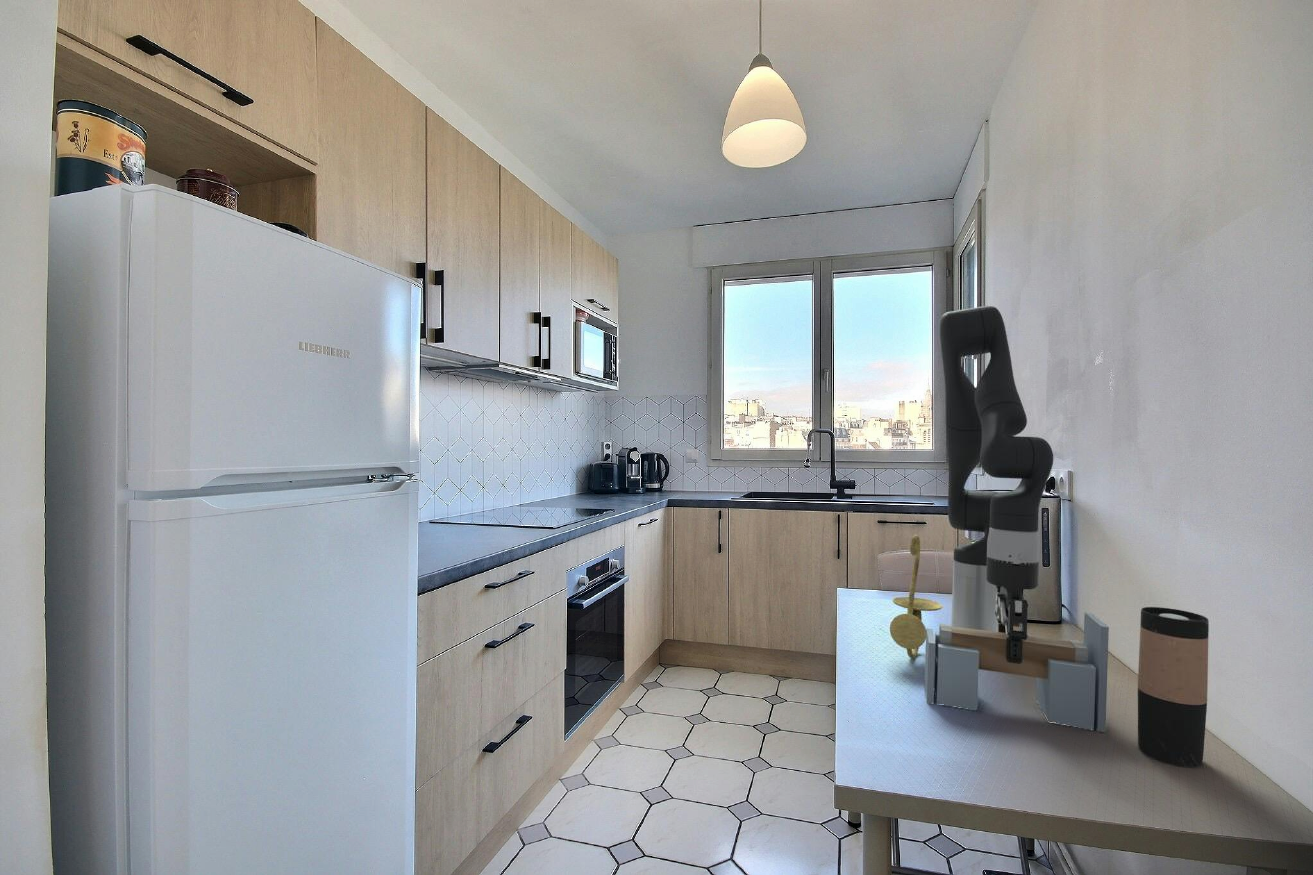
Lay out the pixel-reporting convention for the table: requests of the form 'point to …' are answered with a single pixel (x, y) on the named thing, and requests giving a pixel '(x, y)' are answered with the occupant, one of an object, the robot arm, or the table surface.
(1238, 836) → the table surface
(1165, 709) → the travel mug
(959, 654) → the pair of grey brackets
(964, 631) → the brown wooden bar
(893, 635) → the wall sconce
